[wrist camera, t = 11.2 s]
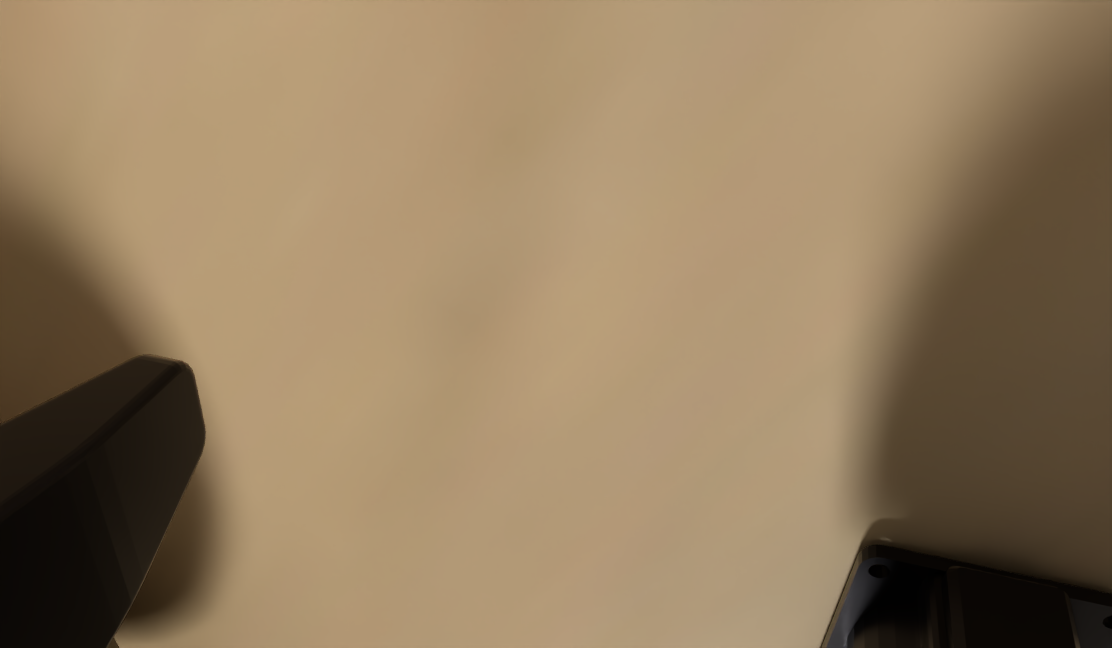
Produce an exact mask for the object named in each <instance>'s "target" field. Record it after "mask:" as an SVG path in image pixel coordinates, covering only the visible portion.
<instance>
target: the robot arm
mask: <svg viewBox="0 0 1112 648" xmlns="http://www.w3.org/2000/svg"><path fill="white" fill-rule="evenodd" d="M205 433H206V431H205V424H204V419H203V414H202V409H201V404H200V400H199V395H198V390H197V385H196V380H195V376H194V373H193V370H192V369H191V367H190V366H189V365H188V364H187V363H185V362H183V361H180V360H175V359H170V358H165V357H160V356H155V355H151V354H143V355H139V356H137V357H134V358H132V359H130V360H128V361H126V362H124V363H122V364H120V365H118V366H116V367H114V368H112V369H110V370H108V371H106V372H104V373H102V374H100V375H98V376H96V377H94V378H92V379H90V380H88V381H86V382H84V383H82V384H80V385H78V386H76V387H74V388H72V389H70V390H68V391H66V392H64V393H62V394H60V395H58V396H56V397H54V398H52V399H50V400H48V401H46V402H44V403H42V404H40V405H38V406H36V407H34V408H32V409H30V410H28V411H26V412H24V413H22V414H20V415H18V416H16V417H14V418H12V419H10V420H8V421H6V422H4V423H2V424H0V648H107V647H108V646H109V644H110V642H111V641H112V639H113V637H114V636H115V634H116V632H117V631H118V629H119V627H120V625H121V624H122V622H123V620H124V618H125V616H126V615H127V613H128V611H129V609H130V608H131V606H132V604H133V602H134V600H135V598H136V596H137V594H138V592H139V590H140V588H141V586H142V584H143V582H144V580H145V577H146V575H147V573H148V571H149V569H150V567H151V564H152V562H153V560H154V558H155V556H156V553H157V551H158V549H159V547H160V545H161V542H162V540H163V538H164V536H165V534H166V532H167V529H168V527H169V525H170V523H171V521H172V518H173V516H174V514H175V512H176V510H177V507H178V505H179V503H180V501H181V499H182V497H183V494H184V492H185V490H186V488H187V486H188V483H189V481H190V479H191V477H192V475H193V472H194V470H195V468H196V466H197V464H198V461H199V459H200V457H201V454H202V452H203V448H204V444H205ZM875 564H882V565H875ZM821 648H1112V594H1109V593H1105V592H1100V591H1095V590H1090V589H1086V588H1081V587H1076V586H1072V585H1067V584H1062V583H1058V582H1053V581H1048V580H1044V579H1039V578H1034V577H1030V576H1025V575H1020V574H1015V573H1011V572H1006V571H1001V570H997V569H992V568H987V567H983V566H978V565H973V564H969V563H964V562H959V561H955V560H950V559H945V558H940V557H936V556H931V555H926V554H922V553H917V552H912V551H908V550H903V549H898V548H894V547H889V546H884V545H872V546H867V547H866V548H864V549H862V550H861V551H860V553H859V554H858V556H857V559H856V561H855V564H854V566H853V569H852V571H851V574H850V576H849V579H848V581H847V584H846V587H845V589H844V592H843V594H842V597H841V599H840V602H839V604H838V607H837V609H836V612H835V614H834V617H833V619H832V622H831V625H830V627H829V630H828V632H827V635H826V637H825V640H824V642H823V645H822V647H821Z"/></svg>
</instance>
